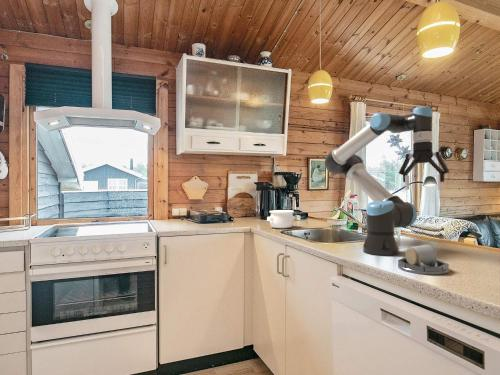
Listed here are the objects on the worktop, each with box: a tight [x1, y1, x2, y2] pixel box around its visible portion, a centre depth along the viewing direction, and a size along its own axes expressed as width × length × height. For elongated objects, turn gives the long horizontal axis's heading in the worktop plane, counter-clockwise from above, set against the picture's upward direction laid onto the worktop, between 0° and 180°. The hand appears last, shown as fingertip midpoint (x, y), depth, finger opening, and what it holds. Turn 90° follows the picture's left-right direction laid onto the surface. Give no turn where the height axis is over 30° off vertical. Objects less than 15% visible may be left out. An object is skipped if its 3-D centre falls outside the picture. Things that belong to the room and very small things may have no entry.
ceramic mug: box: [404, 244, 438, 267], centre depth 119 cm, size 11×8×8 cm
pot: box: [266, 209, 296, 229], centre depth 235 cm, size 22×17×12 cm
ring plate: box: [397, 256, 450, 276], centre depth 120 cm, size 17×17×2 cm
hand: (422, 189), depth 145 cm, fingers open, 13 cm apart
